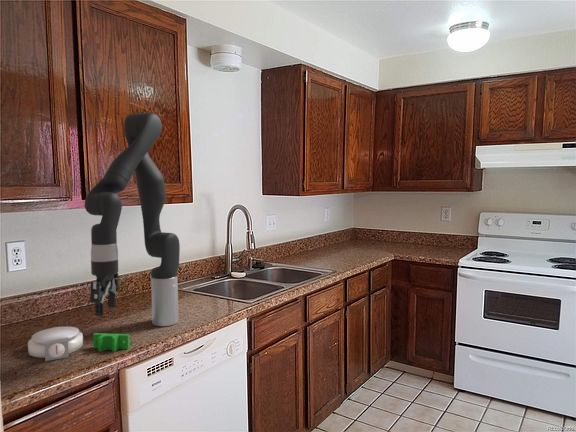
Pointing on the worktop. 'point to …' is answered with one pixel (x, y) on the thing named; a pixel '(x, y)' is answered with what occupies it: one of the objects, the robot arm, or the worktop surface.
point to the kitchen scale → (55, 343)
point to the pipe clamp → (111, 341)
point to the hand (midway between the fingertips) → (105, 311)
